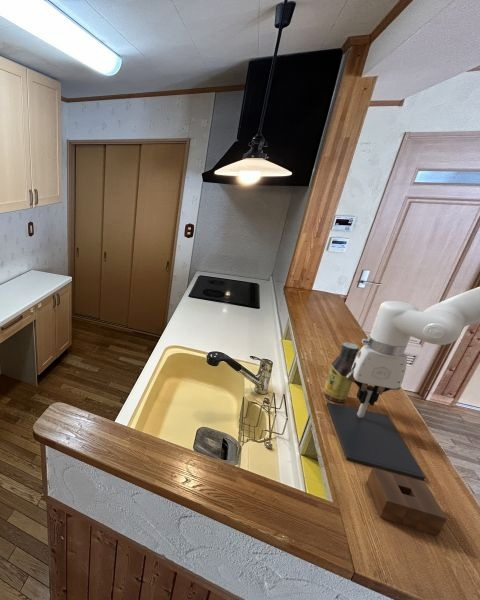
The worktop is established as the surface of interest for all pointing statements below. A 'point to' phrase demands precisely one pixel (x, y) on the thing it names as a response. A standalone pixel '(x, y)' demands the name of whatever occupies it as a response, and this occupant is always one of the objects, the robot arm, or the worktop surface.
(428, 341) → the robot arm
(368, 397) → the white thin cylinder
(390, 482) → the pen stand
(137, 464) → the worktop surface
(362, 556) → the worktop surface
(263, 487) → the worktop surface
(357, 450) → the plate
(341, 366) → the sauce bottle
